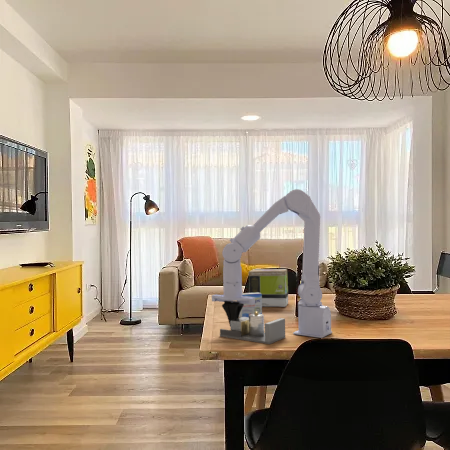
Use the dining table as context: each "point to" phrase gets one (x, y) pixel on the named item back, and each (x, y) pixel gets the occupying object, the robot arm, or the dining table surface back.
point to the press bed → (271, 335)
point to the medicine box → (253, 308)
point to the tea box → (270, 286)
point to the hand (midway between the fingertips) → (233, 326)
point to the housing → (256, 325)
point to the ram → (240, 325)
